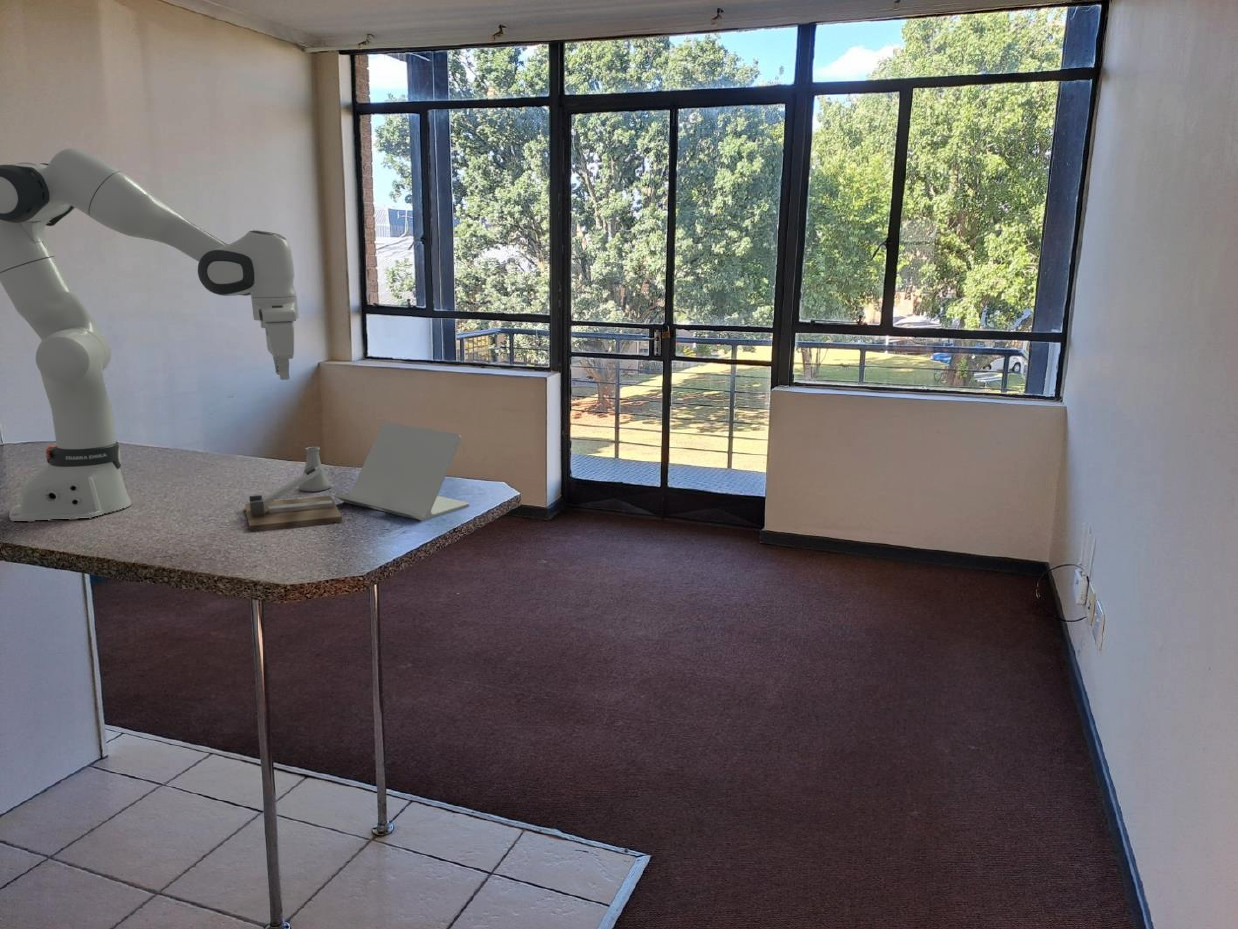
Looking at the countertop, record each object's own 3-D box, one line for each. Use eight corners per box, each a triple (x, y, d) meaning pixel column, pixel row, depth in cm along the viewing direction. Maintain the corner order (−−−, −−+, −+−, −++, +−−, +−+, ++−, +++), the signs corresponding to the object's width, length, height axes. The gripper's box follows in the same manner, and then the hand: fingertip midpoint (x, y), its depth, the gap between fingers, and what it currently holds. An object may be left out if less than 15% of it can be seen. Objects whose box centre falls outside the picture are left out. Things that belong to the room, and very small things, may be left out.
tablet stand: (394, 489, 212) (391, 420, 208) (471, 506, 198) (469, 432, 194) (333, 505, 197) (328, 431, 193) (411, 525, 184) (408, 445, 180)
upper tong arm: (255, 514, 184) (250, 506, 183) (254, 510, 187) (249, 502, 186) (324, 474, 188) (318, 466, 187) (321, 470, 191) (316, 462, 190)
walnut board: (249, 531, 177) (249, 525, 177) (245, 508, 193) (245, 503, 193) (342, 521, 184) (341, 516, 184) (330, 500, 200) (330, 495, 200)
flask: (310, 494, 206) (308, 452, 204) (293, 489, 210) (290, 448, 208) (337, 488, 212) (334, 447, 209) (319, 483, 216) (316, 443, 214)
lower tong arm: (252, 517, 182) (250, 502, 182) (250, 510, 188) (249, 495, 187) (334, 509, 189) (333, 495, 189) (330, 502, 194) (330, 488, 194)
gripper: (256, 309, 191) (263, 372, 194) (262, 314, 173) (270, 383, 176) (286, 307, 193) (293, 370, 197) (296, 312, 175) (303, 381, 179)
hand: (282, 376), depth 186 cm, fingers open, 8 cm apart
